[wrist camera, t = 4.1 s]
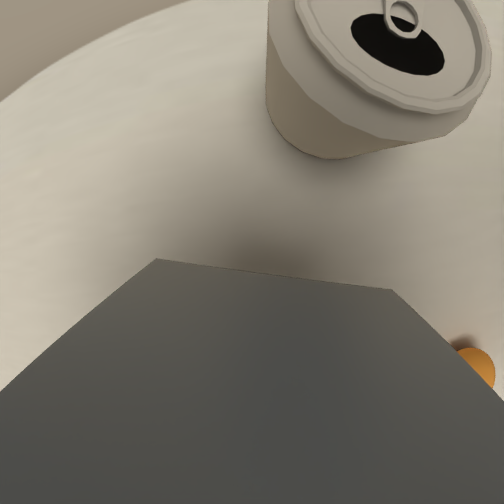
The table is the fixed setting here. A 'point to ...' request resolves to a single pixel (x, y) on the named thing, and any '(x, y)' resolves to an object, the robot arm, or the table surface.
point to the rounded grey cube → (250, 400)
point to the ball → (480, 363)
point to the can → (372, 71)
